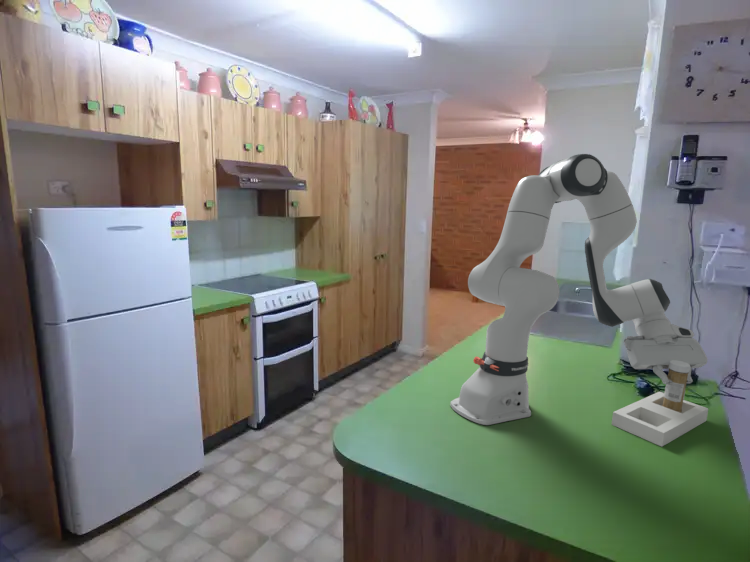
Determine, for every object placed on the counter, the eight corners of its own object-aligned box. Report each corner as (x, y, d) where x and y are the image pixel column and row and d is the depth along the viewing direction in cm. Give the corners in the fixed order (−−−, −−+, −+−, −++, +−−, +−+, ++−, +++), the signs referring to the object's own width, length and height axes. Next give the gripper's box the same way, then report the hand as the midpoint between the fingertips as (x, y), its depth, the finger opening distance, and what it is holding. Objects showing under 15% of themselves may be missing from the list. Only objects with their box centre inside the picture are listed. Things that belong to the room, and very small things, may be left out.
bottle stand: (661, 446, 103) (663, 433, 102) (611, 424, 113) (613, 411, 112) (706, 420, 116) (708, 408, 115) (657, 402, 125) (659, 391, 125)
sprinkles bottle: (684, 411, 117) (693, 364, 114) (676, 415, 114) (686, 367, 112) (665, 404, 121) (674, 358, 118) (657, 408, 118) (666, 361, 116)
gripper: (628, 331, 120) (648, 379, 112) (698, 330, 121) (722, 377, 114) (616, 341, 125) (634, 388, 117) (683, 340, 126) (705, 386, 119)
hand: (678, 383), depth 115 cm, fingers closed on sprinkles bottle, 4 cm apart
